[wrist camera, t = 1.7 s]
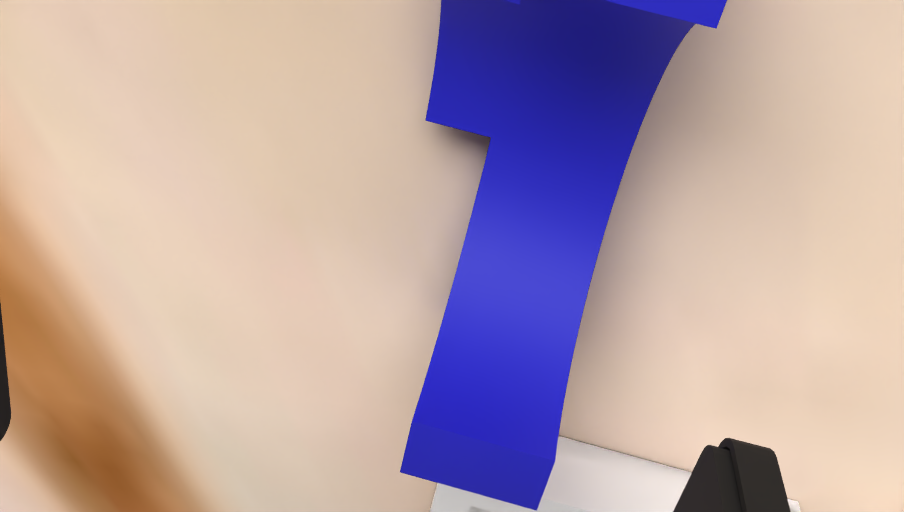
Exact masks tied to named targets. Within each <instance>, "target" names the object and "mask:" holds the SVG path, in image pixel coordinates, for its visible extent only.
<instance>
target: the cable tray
mask: <svg viewBox="0 0 904 512" xmlns="http://www.w3.org/2000/svg"><path fill="white" fill-rule="evenodd" d="M691 474H692V472H688V471H685V470H681V469H678V468H674V467H670V466H667V465H663V464H659V463H656V462H652V461H648V460H645V459H641V458H638V457H634V456H630V455H627V454H623V453H619V452H616V451H612V450H608V449H605V448H601V447H598V446H594V445H590V444H587V443H583V442H579V441H576V440H572V439H568V438H565V437H561V436H558V442H557V450H556V459H555V463H554V466H553V469H552V471H551V474H550V477H549V479H548V482H547V485H546V487H545V490H544V493H543V495H542V498H541V501H540V503H539V506H538V509H537V511H536V510H532V509H529V508H525V507H522V506H518V505H515V504H511V503H508V502H504V501H501V500H497V499H493V498H490V497H486V496H483V495H479V494H476V493H472V492H469V491H465V490H461V489H458V488H454V487H451V486H447V485H444V484H440V483H437V486H436V490H435V494H434V497H433V501H432V505H431V509H430V512H673V511H674V509H675V507H676V504H677V502H678V500H679V498H680V496H681V494H682V492H683V490H684V488H685V486H686V484H687V482H688V480H689V478H690V476H691ZM788 503H789V507H790V511H791V512H801V511H800V507H799V503H798V501H794V500H790V499H788Z"/></svg>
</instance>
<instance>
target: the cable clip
mask: <svg viewBox="0 0 904 512" xmlns="http://www.w3.org/2000/svg"><path fill="white" fill-rule="evenodd" d="M726 1H727V0H441V15H440V27H439V37H438V46H437V54H436V61H435V68H434V75H433V81H432V87H431V93H430V99H429V104H428V110H427V115H426V121H429V122H433V123H437V124H441V125H445V126H449V127H453V128H456V129H460V130H464V131H468V132H472V133H476V134H479V135H483V136H487V137H491V140H490V144H489V148H488V152H487V156H486V160H485V164H484V168H483V172H482V176H481V180H480V184H479V188H478V191H477V195H476V199H475V203H474V207H473V211H472V215H471V218H470V222H469V226H468V230H467V233H466V237H465V241H464V245H463V248H462V252H461V256H460V260H459V263H458V267H457V271H456V274H455V278H454V281H453V285H452V289H451V292H450V296H449V299H448V303H447V306H446V310H445V313H444V317H443V320H442V324H441V327H440V331H439V334H438V338H437V341H436V345H435V348H434V351H433V355H432V358H431V362H430V365H429V368H428V372H427V375H426V378H425V381H424V385H423V388H422V391H421V394H420V398H419V401H418V404H417V407H416V410H415V413H414V417H413V420H412V423H411V428H410V432H409V436H408V440H407V445H406V449H405V453H404V457H403V462H402V466H401V470H400V472H401V473H405V474H408V475H412V476H415V477H419V478H422V479H426V480H430V481H433V482H437V483H440V484H444V485H447V486H451V487H454V488H458V489H461V490H465V491H469V492H472V493H476V494H479V495H483V496H486V497H490V498H493V499H497V500H501V501H504V502H508V503H511V504H515V505H518V506H522V507H525V508H529V509H532V510H536V511H537V509H538V506H539V503H540V501H541V498H542V495H543V493H544V490H545V487H546V485H547V482H548V479H549V477H550V474H551V471H552V469H553V466H554V463H555V459H556V450H557V442H558V435H559V428H560V421H561V415H562V409H563V403H564V398H565V392H566V387H567V382H568V376H569V371H570V366H571V362H572V357H573V352H574V348H575V343H576V339H577V334H578V330H579V326H580V322H581V317H582V313H583V309H584V305H585V301H586V297H587V293H588V289H589V286H590V282H591V278H592V274H593V271H594V267H595V263H596V260H597V256H598V253H599V249H600V246H601V242H602V239H603V235H604V232H605V229H606V225H607V222H608V219H609V216H610V212H611V209H612V206H613V203H614V200H615V197H616V194H617V191H618V188H619V185H620V181H621V179H622V176H623V173H624V170H625V167H626V164H627V161H628V158H629V156H630V153H631V150H632V147H633V145H634V142H635V139H636V137H637V134H638V132H639V129H640V126H641V124H642V121H643V119H644V116H645V114H646V111H647V109H648V107H649V104H650V102H651V100H652V97H653V95H654V93H655V90H656V88H657V86H658V84H659V82H660V80H661V78H662V75H663V73H664V71H665V69H666V67H667V65H668V63H669V62H670V60H671V58H672V56H673V54H674V53H675V51H676V49H677V47H678V46H679V44H680V43H681V41H682V40H683V38H684V37H685V35H686V34H687V33H688V31H689V30H690V29H691V28H692V27H693V26H694V25H695V24H700V25H704V26H708V27H712V28H717V26H718V23H719V20H720V17H721V15H722V12H723V9H724V7H725V4H726Z"/></svg>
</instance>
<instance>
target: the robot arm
mask: <svg viewBox="0 0 904 512" xmlns="http://www.w3.org/2000/svg"><path fill="white" fill-rule="evenodd" d="M10 419H11V407H10V397H9V386H8V376H7V366H6V355H5V345H4V335H3V325H2V314H1V304H0V441H1V440H2V438H3V437H4V435H5V433H6V431H7V429H8V426H9V424H10ZM673 512H791V511H790V507H789V503H788V499H787V495H786V492H785V488H784V484H783V480H782V476H781V472H780V468H779V465H778V461H777V457H776V455H775V453H774V451H773V450H771V449H770V448H766V447H762V446H758V445H754V444H750V443H746V442H742V441H739V440H735V439H731V438H725V439H724V440H723V441H722V442H721V443H720V445H719V447H715V446H712V445H707V446H706V447H705V448H704V450H703V451H702V453H701V455H700V457H699V459H698V461H697V463H696V465H695V468H694V470H693V472H692V474H691V476H690V478H689V480H688V482H687V484H686V486H685V488H684V490H683V492H682V494H681V496H680V498H679V500H678V502H677V504H676V507H675V509H674V511H673Z"/></svg>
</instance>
